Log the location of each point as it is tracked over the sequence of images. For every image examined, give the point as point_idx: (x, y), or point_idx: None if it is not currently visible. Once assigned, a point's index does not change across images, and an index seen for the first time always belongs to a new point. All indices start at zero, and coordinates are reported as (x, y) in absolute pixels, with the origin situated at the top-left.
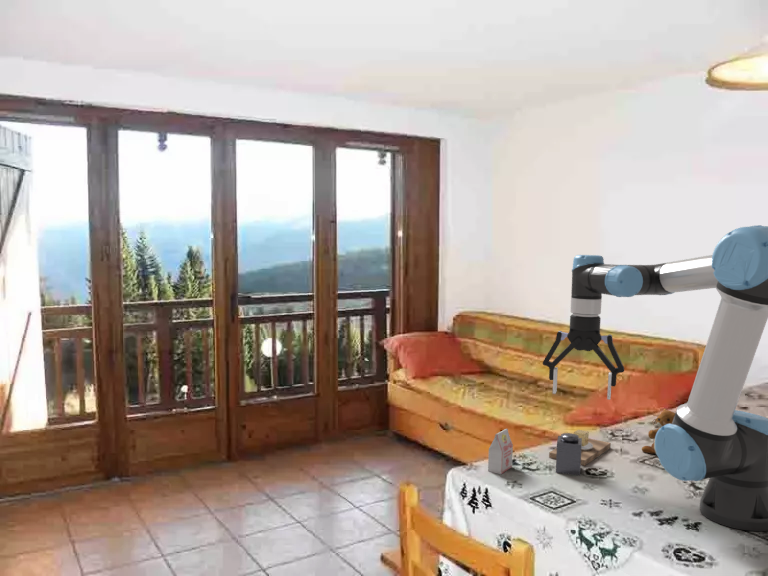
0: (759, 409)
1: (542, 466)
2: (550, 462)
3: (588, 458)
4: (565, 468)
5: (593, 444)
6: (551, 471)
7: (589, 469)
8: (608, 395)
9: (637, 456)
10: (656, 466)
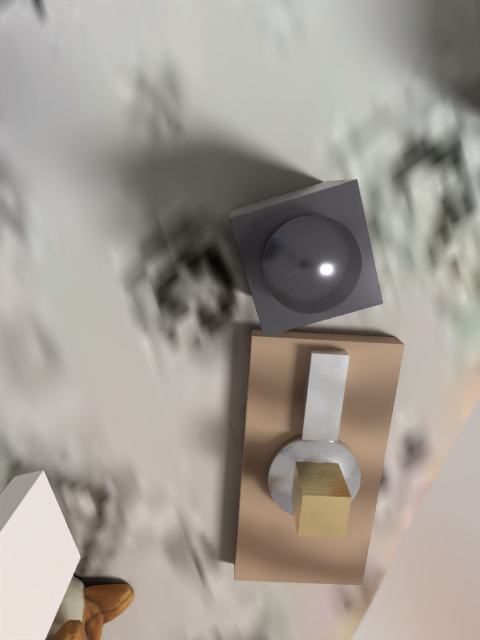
0: None
1: (390, 220)
2: None
3: (249, 374)
4: (288, 193)
5: (281, 530)
6: None
7: (223, 304)
8: (13, 501)
9: (130, 536)
10: None
